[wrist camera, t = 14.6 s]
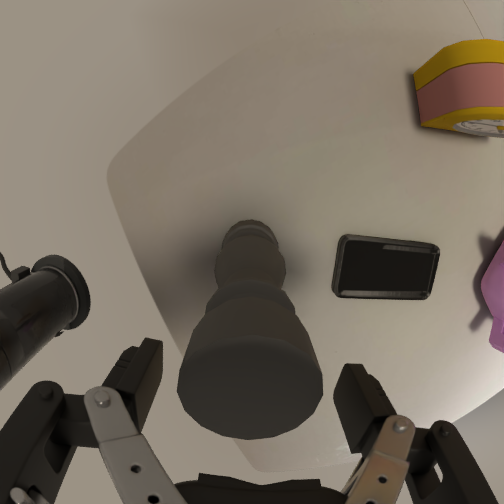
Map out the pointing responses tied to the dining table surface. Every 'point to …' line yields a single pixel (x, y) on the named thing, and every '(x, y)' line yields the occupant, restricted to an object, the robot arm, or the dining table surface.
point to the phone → (384, 268)
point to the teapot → (495, 297)
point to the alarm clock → (464, 88)
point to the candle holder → (250, 346)
